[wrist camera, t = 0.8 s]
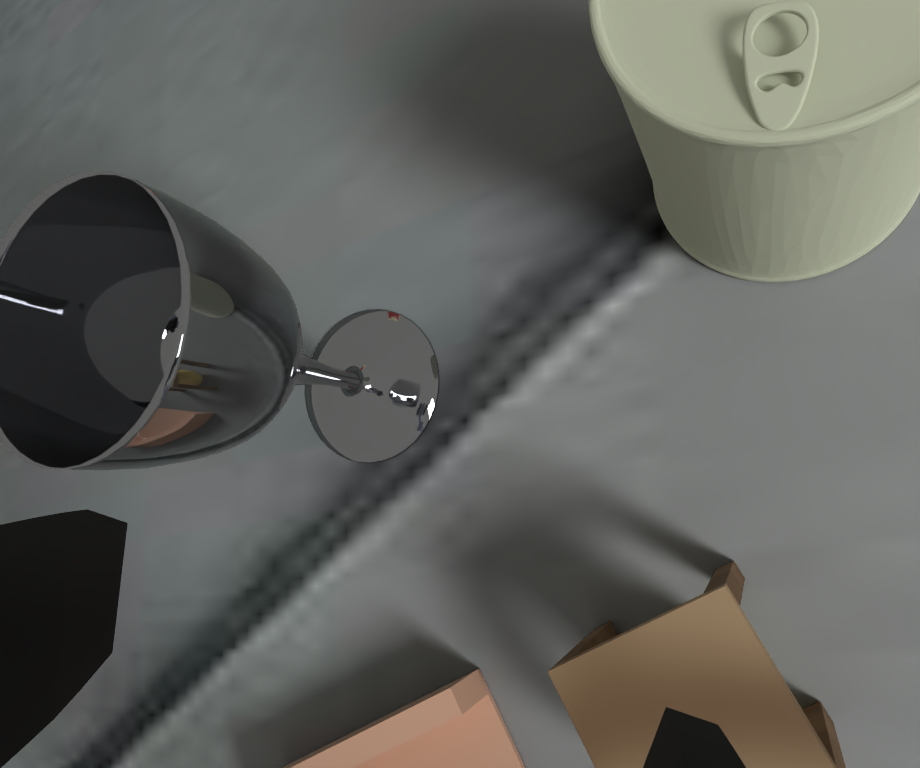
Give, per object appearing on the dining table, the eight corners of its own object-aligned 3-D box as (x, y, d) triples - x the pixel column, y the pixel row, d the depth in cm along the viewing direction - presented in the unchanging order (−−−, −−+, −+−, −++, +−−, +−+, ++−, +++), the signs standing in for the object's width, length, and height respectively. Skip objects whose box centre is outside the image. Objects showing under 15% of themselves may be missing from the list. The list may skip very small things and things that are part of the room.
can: (643, 282, 27) (561, 151, 16) (664, 60, 28) (598, -210, 17) (921, 284, 23) (1062, 113, 12) (936, 26, 24) (1080, -352, 13)
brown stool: (832, 722, 22) (856, 804, 17) (676, 784, 24) (650, 878, 19) (733, 560, 24) (724, 586, 19) (594, 629, 26) (547, 671, 20)
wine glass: (274, 425, 33) (-64, 391, 20) (340, 276, 33) (41, 136, 19) (400, 503, 30) (99, 527, 16) (476, 339, 29) (231, 223, 16)
